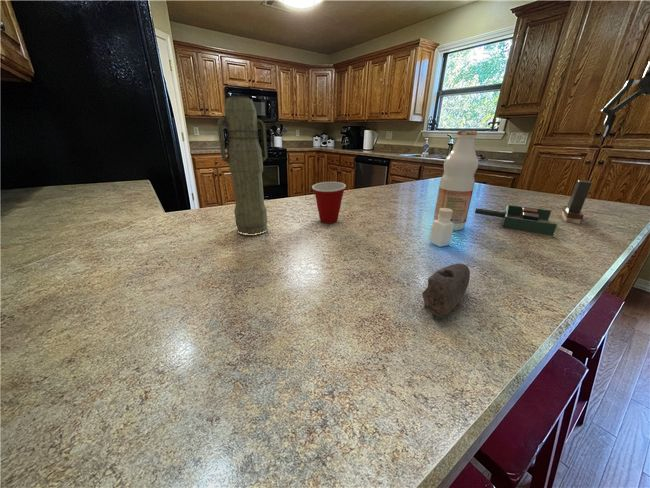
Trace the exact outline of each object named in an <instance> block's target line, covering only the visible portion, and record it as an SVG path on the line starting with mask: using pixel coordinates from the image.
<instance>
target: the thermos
mask: <svg viewBox="0 0 650 488" xmlns="http://www.w3.org/2000/svg"><path fill="white" fill-rule="evenodd" d="M224 115H225V116H223V117H219V119H218V121H217V123H216V127H217V134H218V142H219V148H220V149H219V150H220V155H221V160H222V162H224V163H225V162H226V163H227V164H228V168H229V171H230V174H231V178H232V185H233V186H232V187H233V194H234V202H235V207H234V218H235V219H234V220H235V225H236V228H237V234H238V236H239V235H240V236H242V237H259V236H262V235H265V234H266V233H267V232H268V209H267V207H266V205H265V197H264V184H263V172H264V161H265V162H266V160H267V159H269V155H268V153H269V152H268V140H267V139H268V137H267V128H266V127H267V126H266V124H265V122H264V120H263V119H260V118H258V116H257V115H258V114H257V109H256V105H255V103H254V100H253V99H252V98H250V97H249V96H245V95H232V96H231V95H230V96H229V97H227V98H226V100H225V105H224ZM223 123H225V125H226V131H227V134H228V135H227V136H228V137H227V141H228V143H227V148H225V147H226V146H225V140H224V139H225V138H224V131H223ZM258 124H259V125H258ZM258 126H260V137H261V144H260V141H259V137H258V132H259V128H258ZM226 153H227V155H226ZM266 229H267V231H266V232H264V233H261V234H257V235H243V234H240V233H238V231H239V232H242V233H248V234H255V233H260V232H263V231H265V230H266Z"/></svg>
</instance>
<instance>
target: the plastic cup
mask: <svg viewBox="0 0 650 488" xmlns="http://www.w3.org/2000/svg"><path fill="white" fill-rule="evenodd" d="M346 187H347V184H345V183H344V182H340V181H322V182H321V181H320V182H318V183H315V184H312V186H311V189H312V190H313V193H314V196H315V202H316V207H317V211H318V217H319V221H320V222H321V223H323V224H334V223H337V222H338V220H339V214H340V211H341V205H342V201H343V196H344V192H345V190H346Z"/></svg>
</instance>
